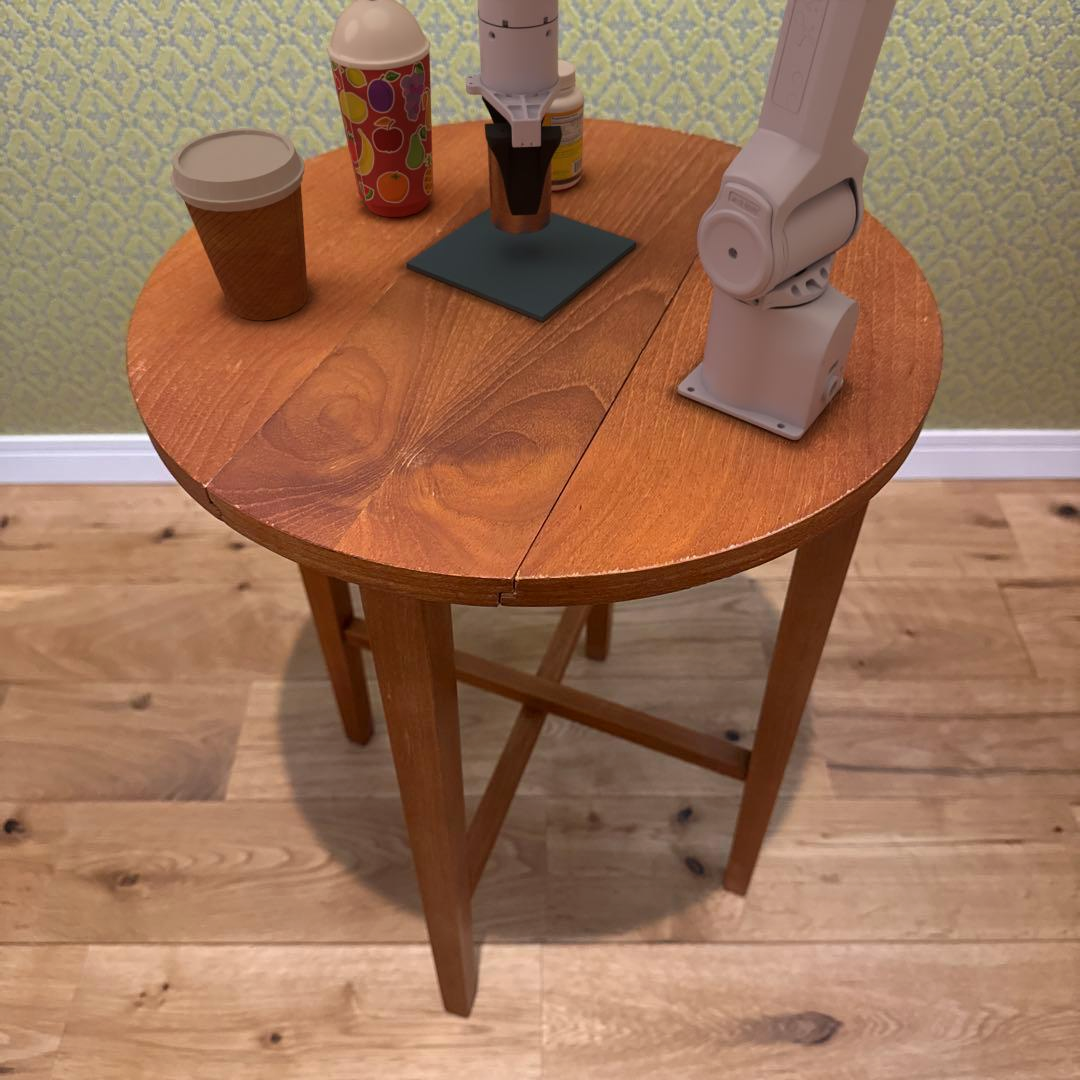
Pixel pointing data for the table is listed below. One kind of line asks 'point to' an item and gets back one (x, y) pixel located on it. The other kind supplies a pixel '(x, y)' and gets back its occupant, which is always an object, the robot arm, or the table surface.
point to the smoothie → (385, 104)
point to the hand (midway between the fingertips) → (521, 195)
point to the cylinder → (500, 207)
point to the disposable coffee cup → (248, 216)
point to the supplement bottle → (567, 129)
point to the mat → (523, 262)
